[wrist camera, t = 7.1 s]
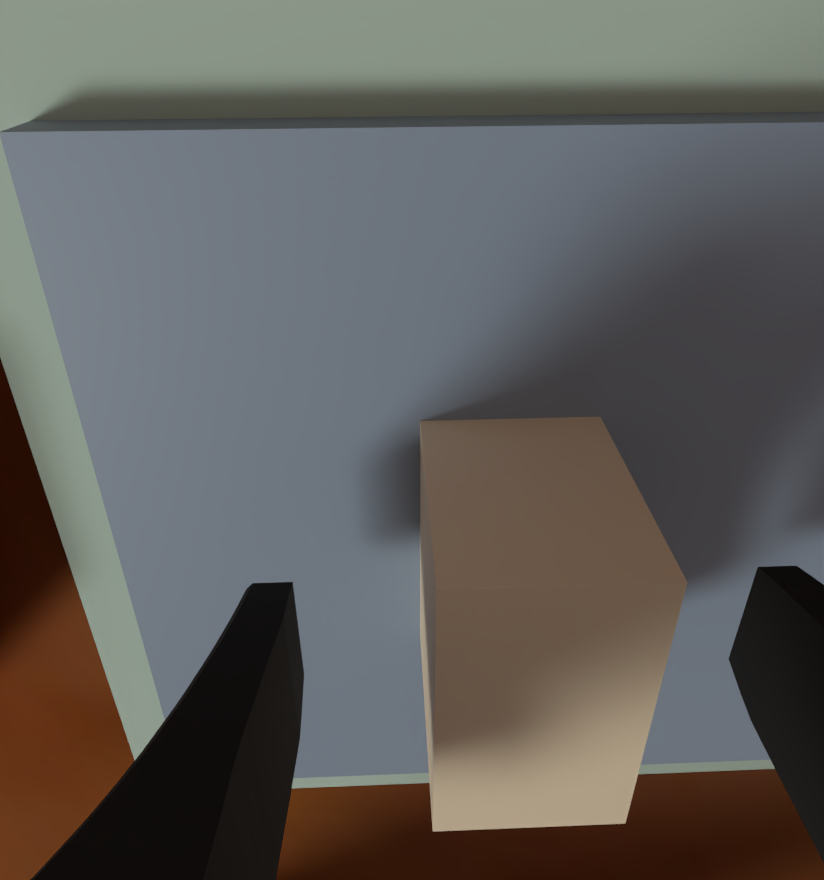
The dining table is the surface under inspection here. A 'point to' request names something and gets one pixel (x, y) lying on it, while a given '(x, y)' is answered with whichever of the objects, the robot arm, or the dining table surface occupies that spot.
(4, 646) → the dining table surface
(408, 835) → the dining table surface
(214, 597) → the lid
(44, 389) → the mat
